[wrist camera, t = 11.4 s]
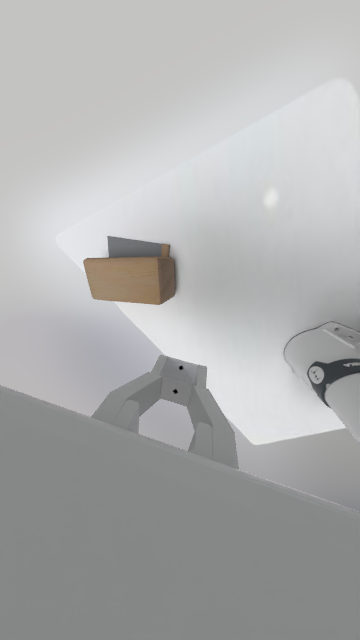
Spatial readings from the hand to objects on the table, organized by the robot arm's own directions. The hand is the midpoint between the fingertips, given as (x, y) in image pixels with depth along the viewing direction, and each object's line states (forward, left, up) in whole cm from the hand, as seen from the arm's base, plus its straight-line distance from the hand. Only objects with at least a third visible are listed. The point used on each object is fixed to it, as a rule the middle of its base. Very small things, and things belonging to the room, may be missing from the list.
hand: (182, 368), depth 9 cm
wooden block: (+8, -1, -26) cm, 27 cm away
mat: (+20, -2, -33) cm, 39 cm away
